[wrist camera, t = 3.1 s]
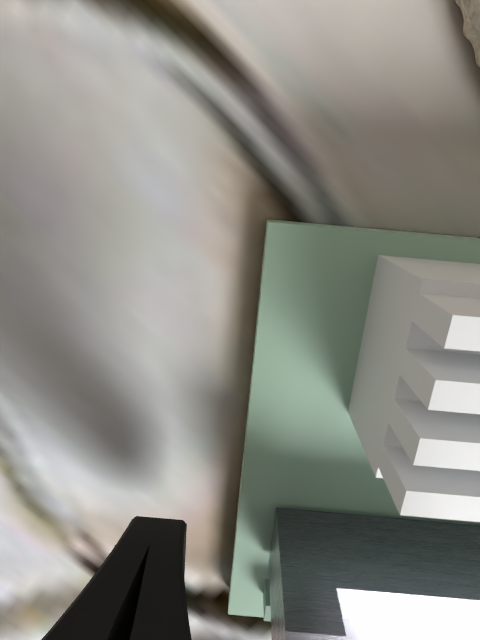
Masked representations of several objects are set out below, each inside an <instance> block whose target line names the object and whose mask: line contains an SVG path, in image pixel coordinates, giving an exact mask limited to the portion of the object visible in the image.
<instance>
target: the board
mask: <svg viewBox="0 0 480 640" xmlns="http://www.w3.org/2000/svg"><path fill="white" fill-rule="evenodd" d="M276 507H278V508H289V509H300V510H312V511H323V512H335V513H346V514H358V515H369V516H380V517H392V518H403V519H415V520H426V521H438V522H449V523H460V524H472V525H480V238H476V237H464V236H453V235H441V234H430V233H418V232H407V231H395V230H384V229H372V228H361V227H349V226H338V225H326V224H315V223H303V222H292V221H281V220H269V219H267V223H266V232H265V242H264V252H263V262H262V272H261V282H260V292H259V302H258V312H257V321H256V331H255V341H254V351H253V361H252V371H251V381H250V391H249V401H248V411H247V420H246V430H245V440H244V450H243V460H242V470H241V480H240V490H239V500H238V510H237V519H236V529H235V539H234V549H233V559H232V569H231V579H230V589H229V606H228V614H231V615H243V616H254V617H264V621H271V608H270V585H269V555H270V548H271V541H272V534H273V527H274V520H275V512H276Z"/></svg>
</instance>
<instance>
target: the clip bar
mask: <svg viewBox="0 0 480 640" xmlns="http://www.w3.org/2000/svg"><path fill="white" fill-rule="evenodd" d="M269 585H270V608H271V630H272V640H480V525H472V524H460V523H449V522H438V521H426V520H415V519H403V518H392V517H380V516H369V515H358V514H346V513H335V512H323V511H312V510H300V509H289V508H278V507H276V512H275V520H274V527H273V534H272V541H271V548H270V555H269Z"/></svg>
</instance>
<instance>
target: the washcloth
mask: <svg viewBox="0 0 480 640" xmlns="http://www.w3.org/2000/svg"><path fill="white" fill-rule="evenodd" d="M455 1H456V3H457V5H458V6H459V7H460V9H461V12H462V16H463V20H464V25H463V35H464V36H465V37H466V38H468V39H469V40H470V42H471V43H472V46H473V49H474V52H475V59H476V64H477V65H478V66H479V67H480V0H455Z"/></svg>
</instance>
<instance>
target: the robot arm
mask: <svg viewBox="0 0 480 640" xmlns="http://www.w3.org/2000/svg"><path fill="white" fill-rule="evenodd" d="M186 528H187V524H186V523H185V522H184V521H183V520H175V519H163V518H151V517H139V516H136V517H135V518H133V519H132V521H131V522H130V524H129V526H128V527H127V529H126V530H125V532H124V533H123V535H122V537H121V538H120V540H119V541H118V543H117V544H116V545H115V547H114V548H113V550H112V551H111V553H110V554H109V556H108V557H107V558H106V560H105V561H104V563H103V564H102V565H101V567H100V568H99V569H98V571H97V572H96V573H95V575H94V576H93V577H92V579H91V580H90V581H89V583H88V584H87V585H86V586H85V588H84V589H83V590H82V592H81V593H80V594H79V596H78V597H77V598H76V599H75V600H74V602H73V603H72V604H71V605H70V607H69V608H68V609H67V610H66V611H65V613H64V614H63V615H62V616H61V617H60V619H59V620H58V621H57V622H56V623H55V625H54V626H53V627H52V628H51V629H50V631H49V632H48V633H47V634H46V635H45V636H44V637H43V639H42V640H191V633H190V627H189V620H188V612H187V603H186V593H185V582H184V571H185V550H186Z"/></svg>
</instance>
